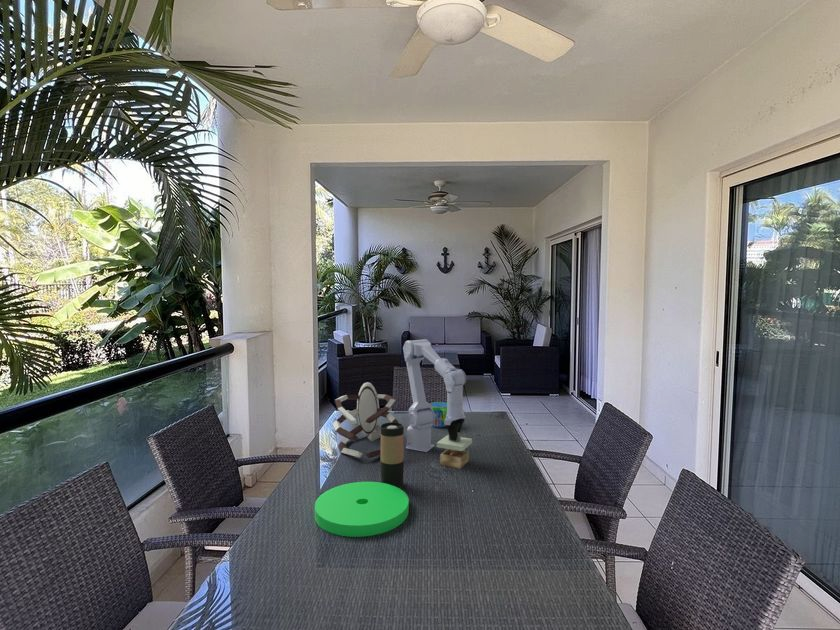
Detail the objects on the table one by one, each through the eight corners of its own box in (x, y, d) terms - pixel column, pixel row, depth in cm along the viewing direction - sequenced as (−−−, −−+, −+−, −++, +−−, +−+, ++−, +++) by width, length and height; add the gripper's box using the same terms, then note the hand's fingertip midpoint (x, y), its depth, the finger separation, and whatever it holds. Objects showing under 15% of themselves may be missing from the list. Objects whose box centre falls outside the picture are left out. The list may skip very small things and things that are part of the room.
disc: (317, 544, 115) (316, 531, 115) (312, 497, 141) (312, 487, 141) (419, 529, 122) (419, 517, 122) (397, 487, 148) (397, 477, 148)
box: (440, 465, 167) (440, 454, 166) (448, 457, 174) (448, 447, 173) (460, 468, 163) (460, 458, 163) (468, 461, 170) (468, 451, 170)
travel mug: (376, 487, 148) (375, 427, 146) (388, 478, 154) (388, 421, 153) (396, 492, 144) (396, 430, 143) (408, 483, 151) (408, 424, 150)
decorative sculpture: (399, 431, 205) (399, 466, 170) (339, 432, 204) (327, 468, 169) (398, 378, 202) (398, 403, 167) (337, 380, 201) (324, 405, 166)
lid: (436, 447, 166) (436, 434, 165) (447, 438, 175) (447, 427, 174) (462, 451, 161) (462, 438, 161) (472, 442, 170) (472, 430, 170)
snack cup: (424, 421, 221) (424, 401, 220) (445, 420, 223) (445, 400, 223) (432, 431, 206) (432, 409, 205) (454, 429, 208) (455, 408, 208)
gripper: (457, 408, 159) (457, 446, 160) (471, 399, 172) (471, 435, 173) (439, 406, 162) (438, 443, 163) (454, 397, 175) (454, 432, 176)
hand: (454, 439), depth 168 cm, fingers closed on lid
